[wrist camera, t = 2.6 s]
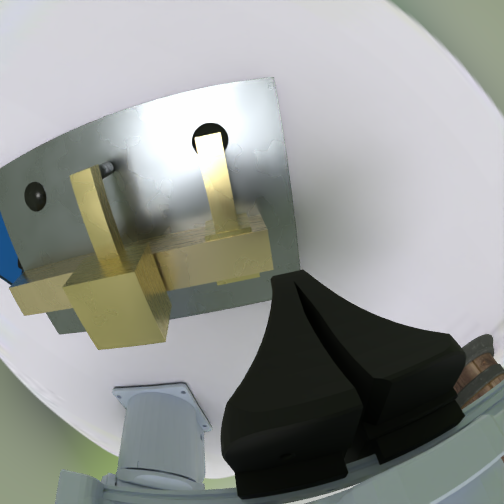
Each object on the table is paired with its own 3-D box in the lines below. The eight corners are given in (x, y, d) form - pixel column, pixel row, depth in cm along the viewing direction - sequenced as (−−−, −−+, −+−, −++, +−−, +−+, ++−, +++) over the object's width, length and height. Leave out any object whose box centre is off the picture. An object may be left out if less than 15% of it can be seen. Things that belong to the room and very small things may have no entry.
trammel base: (299, 286, 20) (312, 314, 17) (62, 328, 19) (49, 353, 17) (270, 79, 14) (283, 69, 11) (-4, 172, 13) (-31, 184, 10)
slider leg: (176, 282, 18) (165, 341, 13) (121, 293, 17) (98, 349, 13) (137, 150, 14) (99, 165, 9) (76, 171, 14) (25, 196, 9)
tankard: (504, 335, 32) (562, 408, 14) (449, 402, 38) (490, 475, 20) (443, 327, 26) (534, 455, 8) (366, 417, 32) (413, 531, 14)
